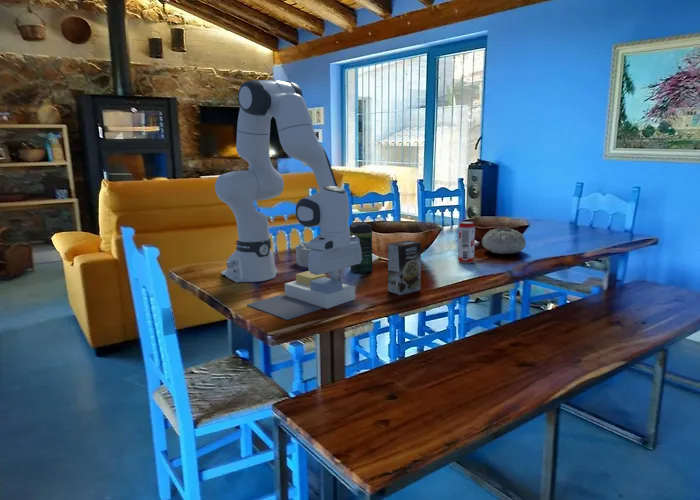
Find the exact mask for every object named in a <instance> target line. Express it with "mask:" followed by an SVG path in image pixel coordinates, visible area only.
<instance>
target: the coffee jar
mask: <svg viewBox="0 0 700 500" xmlns="http://www.w3.org/2000/svg"><path fill="white" fill-rule="evenodd" d="M349 228H350V236H354V235H356V236H357V237H358V238H359V240H360V246H361V252H362V261H361V263H360V264H356V265H352V266H349V267H350V269H351V270H352V272H354V273H361V274H367V273H369V272H372V271H373V267H374V265H373V227H372V225H371V224H368V223H366V222H364V221H353V222H351V223H350V225H349Z"/></svg>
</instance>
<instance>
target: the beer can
mask: <svg viewBox="0 0 700 500" xmlns="http://www.w3.org/2000/svg"><path fill="white" fill-rule="evenodd" d="M457 238H458V240H457V241H458V245H457V251H458V252H457V259H458V262H459V263H460V262H461V264H472V263H473V262H474V261H475V245H476V244H475V243H476V242H475V241H476V226H475V224H474V221H469V220H467V221H466V220H465V221H464V220H463V221H460V223H459V225H458V237H457Z"/></svg>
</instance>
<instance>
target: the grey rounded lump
mask: <svg viewBox="0 0 700 500" xmlns="http://www.w3.org/2000/svg"><path fill="white" fill-rule="evenodd" d="M481 239H482V240H481V244H482V246H483V248H485V249H486V250H488V251H490V252H491V253H493V254H500V255H503V254H504V255H505V254H506V255H510V254H511V255H513V254H517V253H520V252H521V251H524V249H525V247H526V245H527V244H526V243H527V242H526V239H525V236H524V235H523V234H522V233H521V232H519V231H518V230H516V229H514V228H508V227H507V228H506V227H505V228H493V229H489V231H487V232H486V233H485V234H484V236H482V238H481Z"/></svg>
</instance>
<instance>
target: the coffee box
mask: <svg viewBox="0 0 700 500" xmlns="http://www.w3.org/2000/svg"><path fill="white" fill-rule="evenodd" d="M387 244H388V245H387V247H388V250H387V252H388V256H387V257H388V259H387V267H388V268H387V269H388V270H387V276H388V277H387V281H388V282H387V285H388V286H387V291H388V292H389V293H393V294H396V295H398V296H403V295H407V294H411V293H414V292H419V291H421V286H422V285H421V284H422V283H421V281H422V280H421V279H422V278H421V273H422V272H421V269H422V265H421V264H422V242H420V241H417V240H416V241H415V240H409V239H408V240H402V241H395V242H390V243H387Z"/></svg>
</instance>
